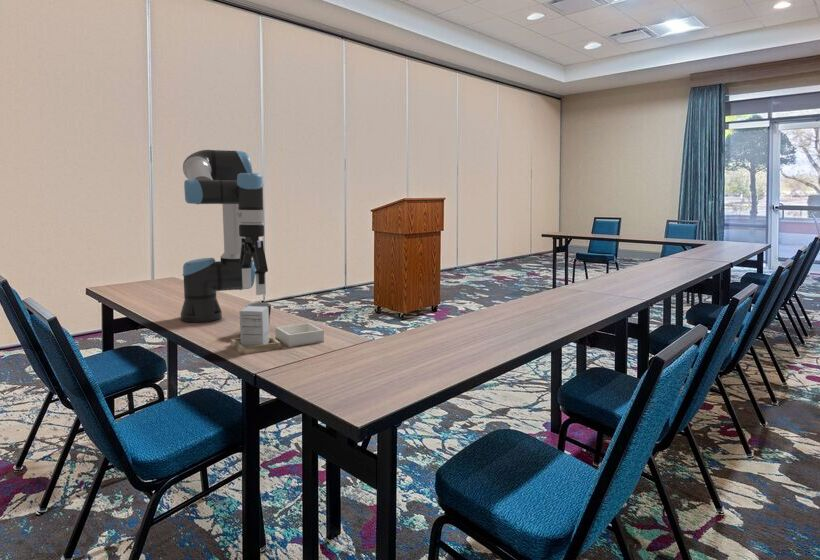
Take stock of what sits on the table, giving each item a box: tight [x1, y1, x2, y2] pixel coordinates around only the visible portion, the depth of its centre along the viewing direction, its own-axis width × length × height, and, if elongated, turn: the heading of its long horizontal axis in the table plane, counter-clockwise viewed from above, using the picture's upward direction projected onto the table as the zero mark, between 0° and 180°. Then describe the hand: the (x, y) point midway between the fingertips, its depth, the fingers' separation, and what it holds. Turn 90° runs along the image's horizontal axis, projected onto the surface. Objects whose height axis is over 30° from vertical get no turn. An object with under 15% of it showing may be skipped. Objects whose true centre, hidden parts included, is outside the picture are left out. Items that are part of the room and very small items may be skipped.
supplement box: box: [239, 306, 270, 347], centre depth 172 cm, size 7×7×13 cm
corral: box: [230, 334, 282, 355], centre depth 173 cm, size 12×12×2 cm
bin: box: [274, 322, 325, 348], centre depth 181 cm, size 12×12×4 cm
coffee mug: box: [245, 302, 272, 324], centre depth 191 cm, size 12×9×10 cm
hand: (253, 291), depth 170 cm, fingers open, 13 cm apart
